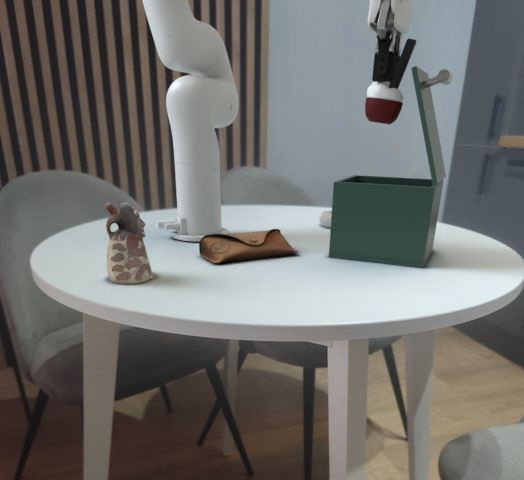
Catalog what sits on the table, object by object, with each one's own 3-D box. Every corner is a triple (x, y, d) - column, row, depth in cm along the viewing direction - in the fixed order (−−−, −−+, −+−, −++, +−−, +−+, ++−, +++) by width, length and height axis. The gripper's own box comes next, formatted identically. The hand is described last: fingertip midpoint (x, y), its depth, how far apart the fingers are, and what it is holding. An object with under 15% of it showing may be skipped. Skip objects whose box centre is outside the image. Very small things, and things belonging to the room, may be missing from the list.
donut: (320, 230, 120) (362, 230, 120) (321, 215, 118) (363, 215, 118) (317, 222, 129) (356, 222, 129) (317, 209, 127) (357, 208, 127)
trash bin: (328, 257, 96) (333, 181, 90) (348, 242, 108) (353, 175, 102) (422, 267, 89) (434, 187, 83) (432, 250, 101) (443, 179, 96)
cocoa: (360, 122, 90) (373, 46, 85) (395, 126, 90) (410, 50, 85) (364, 120, 81) (378, 35, 77) (402, 124, 81) (419, 39, 76)
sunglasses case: (216, 262, 88) (208, 227, 89) (204, 274, 95) (196, 240, 95) (301, 252, 96) (293, 219, 97) (284, 263, 103) (277, 232, 103)
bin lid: (411, 67, 78) (444, 54, 76) (423, 75, 90) (452, 64, 88) (432, 185, 83) (464, 177, 81) (441, 177, 96) (469, 170, 93)
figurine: (154, 282, 79) (148, 205, 74) (108, 285, 78) (98, 206, 72) (150, 270, 86) (144, 198, 81) (107, 273, 84) (98, 199, 79)
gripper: (386, -38, 83) (374, 85, 91) (361, -70, 70) (349, 78, 77) (432, -43, 81) (415, 85, 88) (415, -77, 67) (397, 78, 75)
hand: (384, 81), depth 83 cm, fingers closed on cocoa, 3 cm apart
